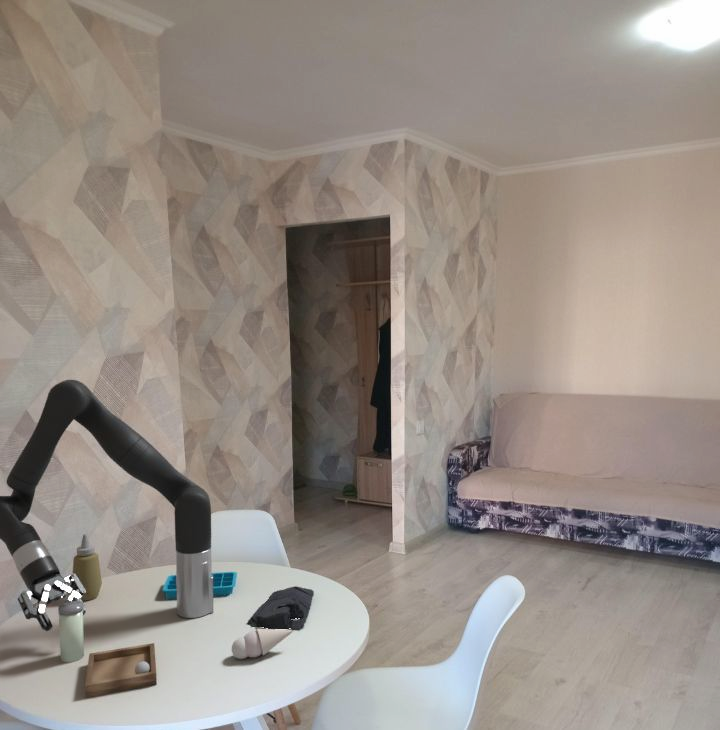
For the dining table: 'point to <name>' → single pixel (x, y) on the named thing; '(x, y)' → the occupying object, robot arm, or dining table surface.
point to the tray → (119, 670)
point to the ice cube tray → (221, 584)
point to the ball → (142, 668)
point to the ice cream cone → (258, 642)
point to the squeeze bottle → (88, 569)
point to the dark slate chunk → (284, 609)
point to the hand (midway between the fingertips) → (66, 621)
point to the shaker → (71, 631)
